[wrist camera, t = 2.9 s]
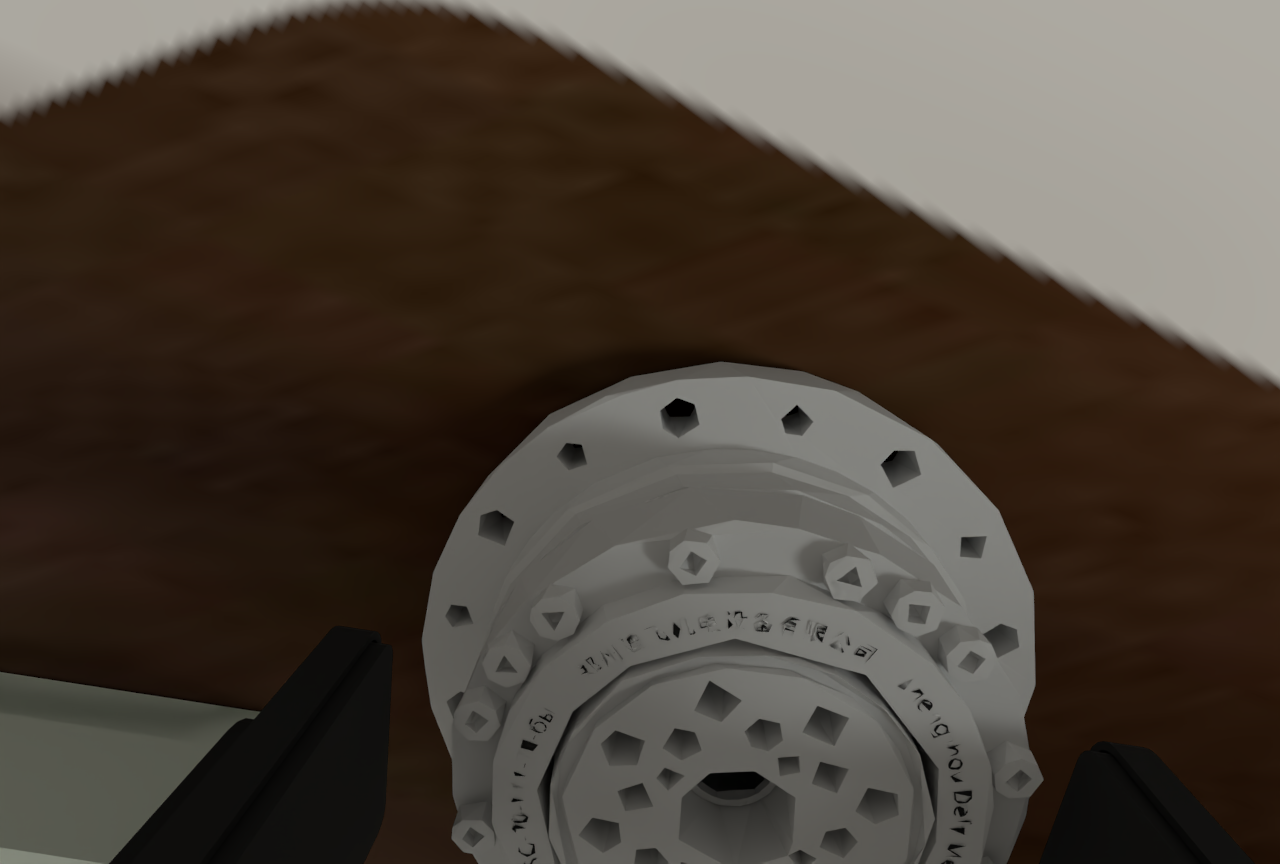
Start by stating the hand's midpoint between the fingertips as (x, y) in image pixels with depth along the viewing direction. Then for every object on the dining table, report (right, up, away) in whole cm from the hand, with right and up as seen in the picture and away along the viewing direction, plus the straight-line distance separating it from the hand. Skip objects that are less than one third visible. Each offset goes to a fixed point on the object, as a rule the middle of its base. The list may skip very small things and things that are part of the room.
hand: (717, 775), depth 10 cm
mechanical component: (0, +1, +4) cm, 4 cm away
